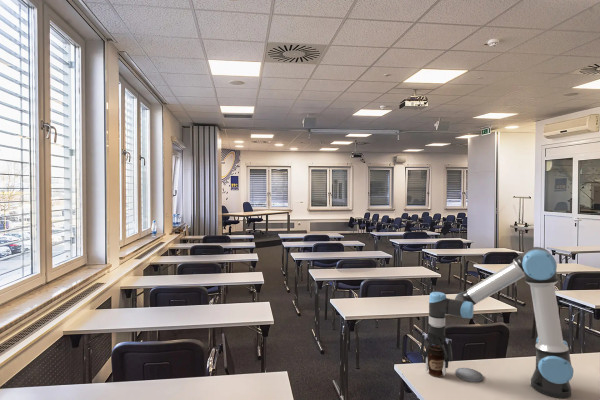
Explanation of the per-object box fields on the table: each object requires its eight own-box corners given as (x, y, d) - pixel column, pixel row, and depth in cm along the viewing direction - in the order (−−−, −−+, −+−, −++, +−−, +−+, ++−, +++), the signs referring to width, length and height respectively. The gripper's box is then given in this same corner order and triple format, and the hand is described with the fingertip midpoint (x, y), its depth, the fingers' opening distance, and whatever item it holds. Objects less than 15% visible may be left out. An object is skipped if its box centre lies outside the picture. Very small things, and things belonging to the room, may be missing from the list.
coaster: (483, 373, 178) (483, 371, 178) (482, 384, 168) (482, 382, 168) (457, 367, 184) (457, 365, 184) (453, 377, 174) (453, 375, 174)
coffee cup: (447, 379, 173) (448, 351, 172) (430, 378, 173) (430, 351, 173) (441, 370, 181) (441, 344, 181) (424, 369, 182) (424, 343, 181)
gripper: (460, 326, 175) (459, 374, 175) (417, 318, 185) (415, 363, 185) (458, 331, 168) (457, 380, 169) (413, 323, 179) (412, 369, 179)
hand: (435, 371), depth 177 cm, fingers closed on coffee cup, 7 cm apart
